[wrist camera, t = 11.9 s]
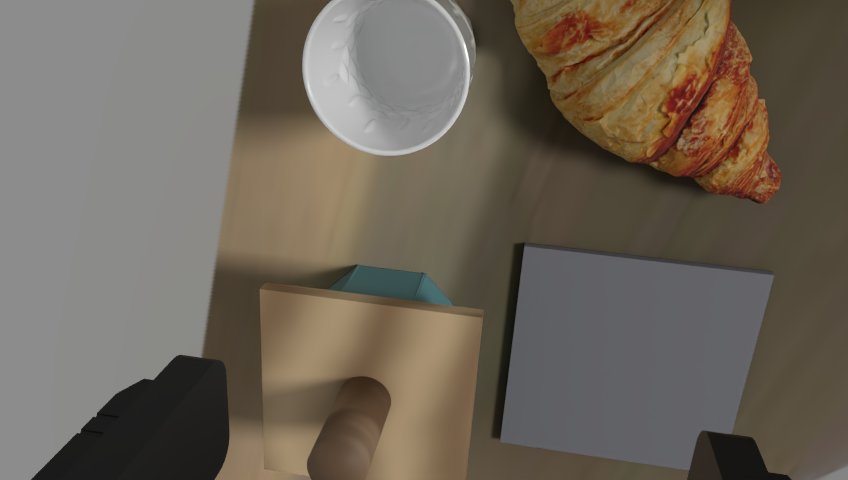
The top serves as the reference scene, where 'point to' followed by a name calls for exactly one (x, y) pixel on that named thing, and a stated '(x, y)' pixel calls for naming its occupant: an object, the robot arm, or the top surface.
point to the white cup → (389, 71)
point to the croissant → (657, 86)
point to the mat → (629, 353)
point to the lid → (366, 385)
